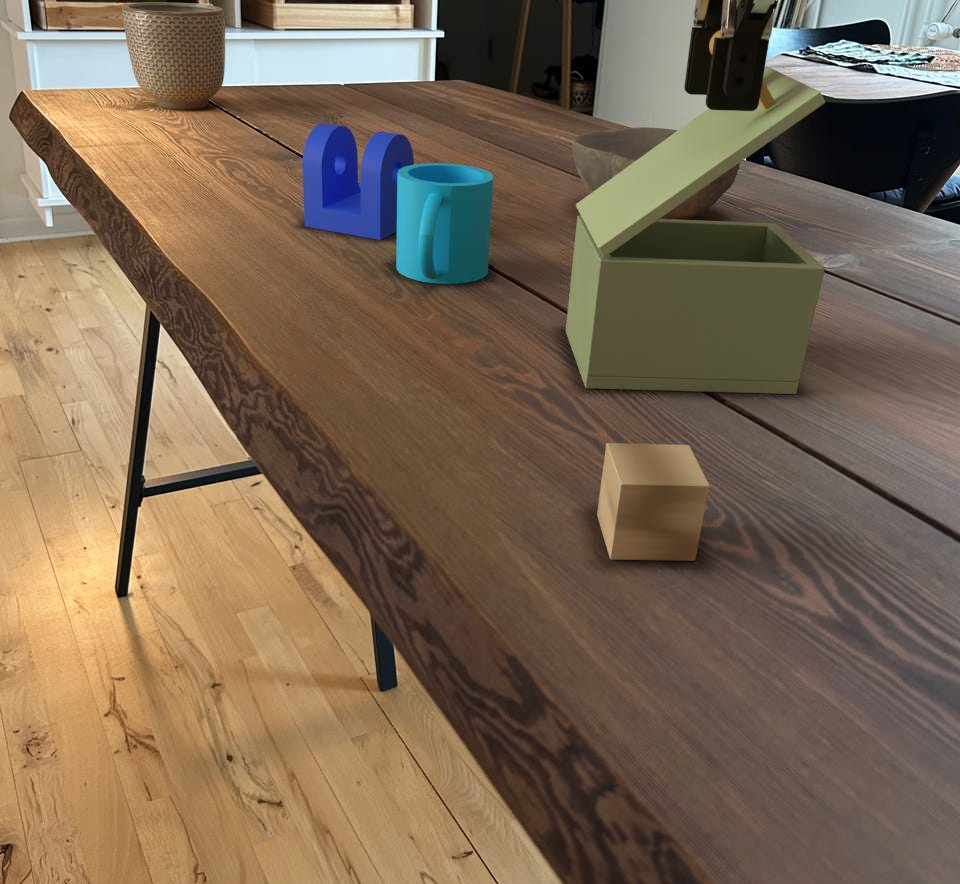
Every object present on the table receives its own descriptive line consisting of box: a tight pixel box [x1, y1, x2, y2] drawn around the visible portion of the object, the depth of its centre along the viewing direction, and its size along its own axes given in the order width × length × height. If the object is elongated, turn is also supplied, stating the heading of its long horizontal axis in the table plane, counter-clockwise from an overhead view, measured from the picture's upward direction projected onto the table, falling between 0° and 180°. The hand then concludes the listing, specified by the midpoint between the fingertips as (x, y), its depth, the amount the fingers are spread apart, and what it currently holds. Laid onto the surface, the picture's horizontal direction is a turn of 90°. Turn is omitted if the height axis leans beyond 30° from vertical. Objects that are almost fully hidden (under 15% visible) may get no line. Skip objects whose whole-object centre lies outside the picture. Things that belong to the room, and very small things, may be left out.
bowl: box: [571, 126, 741, 220], centre depth 109 cm, size 18×18×8 cm
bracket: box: [302, 122, 415, 241], centre depth 104 cm, size 18×8×9 cm, turn 157°
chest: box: [565, 215, 826, 395], centre depth 73 cm, size 15×11×9 cm
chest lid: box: [575, 30, 826, 257], centre depth 67 cm, size 16×11×5 cm
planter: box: [121, 1, 226, 111], centre depth 147 cm, size 14×14×13 cm
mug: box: [395, 162, 494, 285], centre depth 87 cm, size 12×8×8 cm
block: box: [596, 442, 710, 562], centre depth 53 cm, size 4×4×4 cm
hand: (719, 98), depth 66 cm, fingers closed on chest lid, 5 cm apart
